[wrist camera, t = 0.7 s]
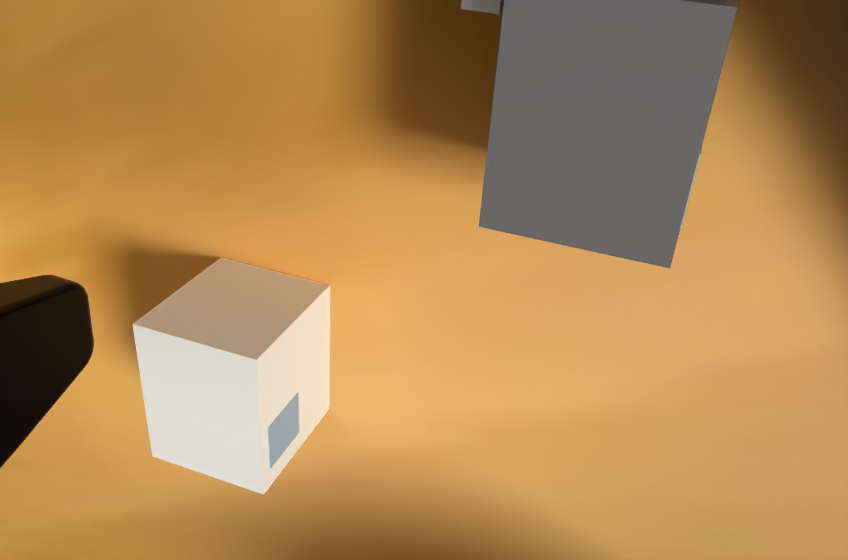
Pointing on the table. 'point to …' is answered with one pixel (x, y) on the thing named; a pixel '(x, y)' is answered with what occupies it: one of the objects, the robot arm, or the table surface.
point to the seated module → (602, 120)
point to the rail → (483, 5)
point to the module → (235, 371)
